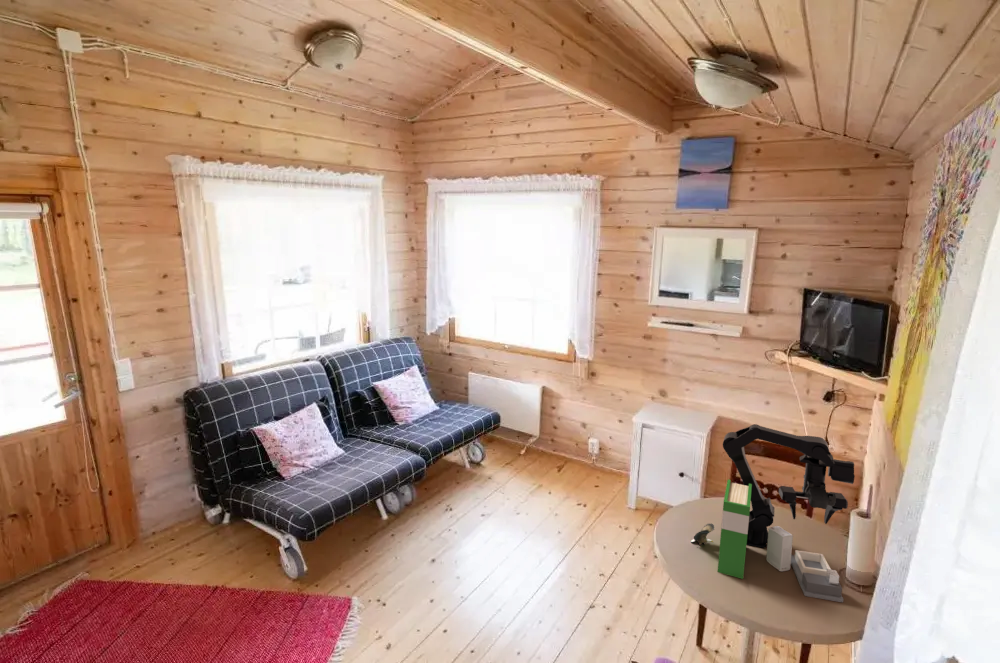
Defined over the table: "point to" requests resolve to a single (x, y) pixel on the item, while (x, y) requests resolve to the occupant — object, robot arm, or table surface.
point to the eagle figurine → (703, 535)
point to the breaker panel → (814, 576)
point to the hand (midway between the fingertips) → (809, 521)
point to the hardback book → (734, 529)
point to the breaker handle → (832, 576)
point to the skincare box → (779, 548)
